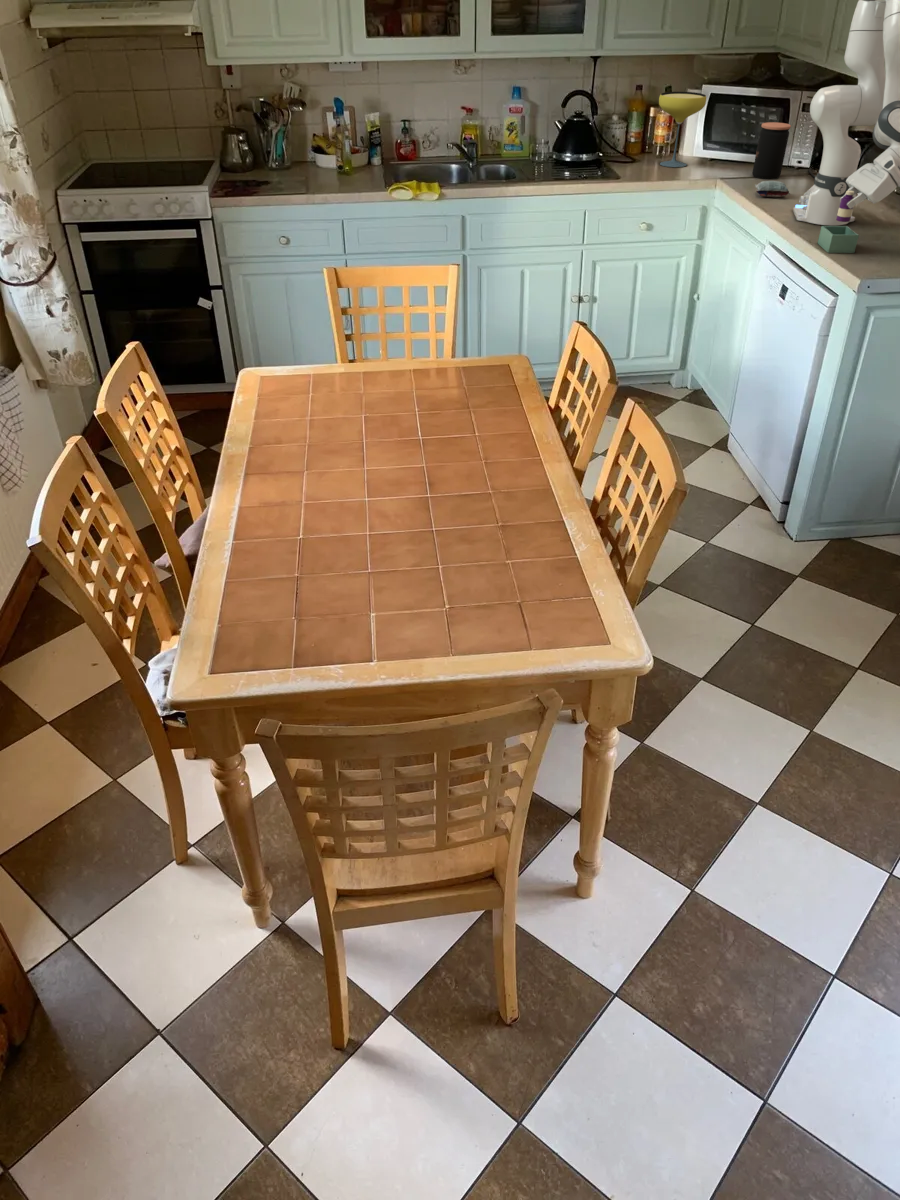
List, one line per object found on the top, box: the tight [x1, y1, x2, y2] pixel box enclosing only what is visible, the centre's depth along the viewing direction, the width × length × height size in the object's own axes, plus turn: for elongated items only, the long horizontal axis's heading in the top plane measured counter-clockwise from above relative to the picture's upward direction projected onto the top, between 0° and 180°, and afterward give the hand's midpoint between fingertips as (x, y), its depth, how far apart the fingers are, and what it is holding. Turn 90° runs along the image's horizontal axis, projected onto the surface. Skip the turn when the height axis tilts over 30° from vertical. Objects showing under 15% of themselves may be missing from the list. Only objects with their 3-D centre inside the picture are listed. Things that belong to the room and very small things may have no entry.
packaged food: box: [754, 180, 791, 198], centre depth 318 cm, size 9×12×5 cm
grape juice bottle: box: [836, 191, 854, 223], centre depth 260 cm, size 4×4×8 cm
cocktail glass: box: [658, 91, 707, 168], centre depth 354 cm, size 18×18×25 cm
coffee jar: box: [752, 121, 792, 180], centre depth 339 cm, size 11×11×18 cm
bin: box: [817, 225, 860, 254], centre depth 266 cm, size 10×8×5 cm
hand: (844, 204), depth 260 cm, fingers closed on grape juice bottle, 4 cm apart
